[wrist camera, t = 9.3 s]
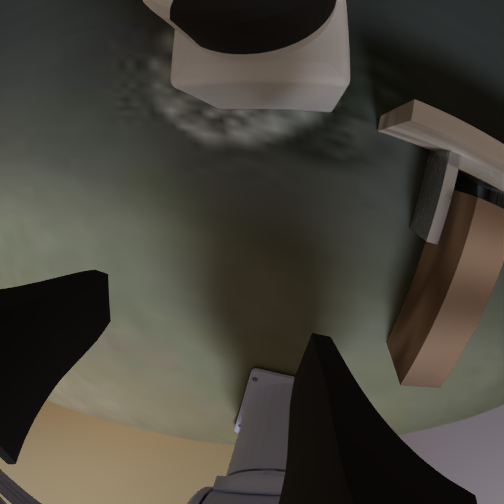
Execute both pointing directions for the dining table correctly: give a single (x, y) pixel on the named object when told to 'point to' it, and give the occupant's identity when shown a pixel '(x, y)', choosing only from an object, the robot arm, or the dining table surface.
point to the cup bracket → (448, 190)
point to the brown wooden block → (448, 292)
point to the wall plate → (443, 134)
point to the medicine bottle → (259, 52)
